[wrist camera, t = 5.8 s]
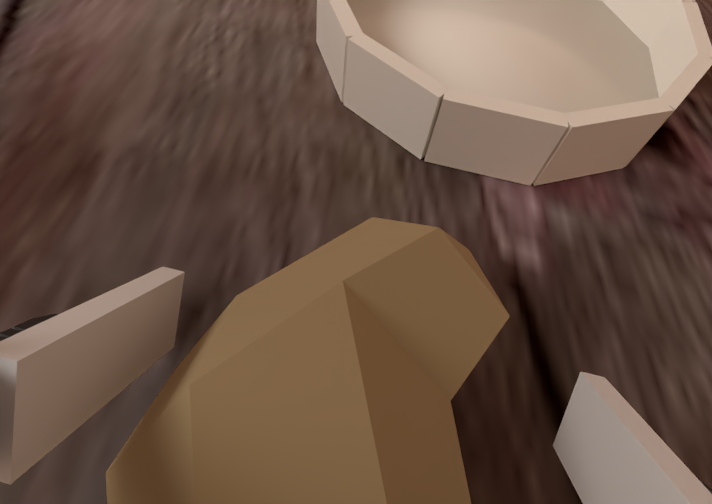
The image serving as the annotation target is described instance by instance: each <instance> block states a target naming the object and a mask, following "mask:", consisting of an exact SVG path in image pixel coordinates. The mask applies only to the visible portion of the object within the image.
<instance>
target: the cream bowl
mask: <svg viewBox="0 0 712 504" xmlns="http://www.w3.org/2000/svg"><path fill="white" fill-rule="evenodd" d="M316 42H317V45H318V47H319V50H320V52H321V54H322V57H323V59H324V62H325V64H326V67H327V69H328V71H329V74H330V76H331V79H332V81H333V83H334V86H335V88H336V91H337V93H338V96H339V98H340V100H341V102H343V105H344V106H346V107H347V108H349V109H350V110H351V111H353V112H354V113H356V114H357V115H358V116H360V117H361V118H363V119H364V120H365V121H367V122H368V123H370V124H371V125H373V126H374V127H375V128H377V129H378V130H380V131H381V132H382V133H384V134H385V135H387V136H388V137H389V138H391V139H392V140H394V141H395V142H396V143H398V144H399V145H401V146H402V147H403V148H405V149H406V150H408V151H409V152H410V153H412V154H413V155H415V156H416V157H417V158H419V159H420V160H421V159H422V158H423V157H424V156H425V159H424V161H425V162H429V163H434V164H438V165H442V166H447V167H451V168H455V169H460V170H464V171H468V172H473V173H477V174H481V175H486V176H490V177H494V178H499V179H503V180H507V181H512V182H516V183H520V184H525V185H529V186H531V184H532V183H533V185H534V186H536V185H542V184H547V183H552V182H557V181H562V180H567V179H572V178H577V177H582V176H587V175H592V174H597V173H602V172H607V171H612V170H617V169H622V168H624V167H626V166H627V165H628V164H629V162H630V161H631V160H632V159H633V158H634V157H635V156H636V154H637V153H638V152H639V151H640V150H641V149H642V148H643V146H644V145H645V144H646V143H647V142H648V141H649V139H650V138H651V137H652V136H653V135H654V134H655V133H656V131H657V130H658V129H659V128H660V127H661V126H662V124H663V123H664V122H665V121H666V120H667V119H668V118H669V116H670V115H671V114H672V113H673V112H674V111H675V110H676V108H677V107H678V106H679V105H680V103H681V102H682V101H683V100H684V99H685V97H686V96H687V95H688V94H689V92H690V91H691V90H692V89H693V88H694V86H695V85H696V84H697V83H698V81H699V80H700V79H701V78H702V77H703V75H704V74H705V73H706V72H707V70H708V69H709V68H710V67H711V66H712V46H711V43H710V40H709V37H708V34H707V31H706V28H705V25H704V22H703V19H702V16H701V13H700V10H699V7H698V4H697V3H696V2H695V0H317V41H316Z"/></svg>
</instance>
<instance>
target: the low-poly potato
mask: <svg viewBox="0 0 712 504" xmlns="http://www.w3.org/2000/svg"><path fill="white" fill-rule="evenodd" d="M509 317H510V316H509V314H508V312H507V311H506V309H505V308H504V306H503V304H502V303H501V301H500V299H499V298H498V296H497V295H496V293H495V291H494V290H493V288H492V286H491V285H490V283H489V281H488V280H487V278H486V277H485V275H484V273H483V272H482V270H481V268H480V267H479V265H478V264H477V262H476V260H475V259H474V257H473V255H472V254H471V252H470V250H468V249H467V248H466V247H464V246H463V245H462V244H460V243H459V242H458V241H456V240H455V239H454V238H452V237H451V236H450V235H448V234H447V233H446V232H444V231H443V230H442V229H440V228H439V227H433V226H427V225H420V224H414V223H408V222H401V221H395V220H389V219H382V218H376V217H372V218H370V219H368V220H366V221H365V222H363V223H361V224H359V225H358V226H356V227H354V228H352V229H351V230H349V231H347V232H346V233H344V234H342V235H340V236H339V237H337V238H335V239H333V240H332V241H330V242H328V243H327V244H325V245H323V246H321V247H320V248H318V249H316V250H314V251H313V252H311V253H309V254H307V255H306V256H304V257H302V258H301V259H299V260H297V261H295V262H294V263H292V264H290V265H288V266H287V267H285V268H283V269H282V270H280V271H278V272H276V273H275V274H273V275H271V276H269V277H268V278H266V279H264V280H263V281H261V282H259V283H257V284H256V285H254V286H252V287H250V288H249V289H247V290H245V291H243V292H242V293H240V294H238V295H237V296H236V297H235V298H234V299H233V300H232V302H231V303H230V304H229V305H228V306H227V308H226V309H225V310H224V311H223V312H222V314H221V315H220V316H219V317H218V318H217V320H216V321H215V322H214V323H213V324H212V326H211V327H210V328H209V329H208V330H207V332H206V333H205V334H204V335H203V336H202V338H201V339H200V340H199V341H198V342H197V344H196V345H195V346H194V347H193V348H192V350H191V351H190V352H189V353H188V354H187V356H186V357H185V358H184V359H183V360H182V362H181V363H180V364H179V365H178V366H177V368H176V369H175V370H174V372H173V373H172V374H171V376H170V377H169V379H168V380H167V382H166V383H165V385H164V386H163V388H162V389H161V391H160V392H159V394H158V395H157V397H156V398H155V400H154V401H153V403H152V404H151V406H150V407H149V409H148V410H147V412H146V413H145V415H144V416H143V418H142V419H141V421H140V422H139V424H138V425H137V427H136V428H135V430H134V431H133V433H132V434H131V436H130V437H129V438H128V440H127V441H126V443H125V444H124V446H123V447H122V449H121V450H120V452H119V453H118V455H117V456H116V458H115V459H114V461H113V462H112V464H111V465H110V467H109V468H108V470H107V471H106V487H107V504H471V499H470V494H469V489H468V484H467V479H466V474H465V470H464V465H463V460H462V455H461V450H460V445H459V440H458V435H457V430H456V425H455V420H454V415H453V410H452V406H451V400H452V398H453V397H454V395H455V394H456V393H457V391H458V390H459V388H460V387H461V385H462V384H463V383H464V381H465V380H466V378H467V377H468V375H469V374H470V373H471V371H472V370H473V368H474V367H475V365H476V364H477V363H478V361H479V360H480V358H481V357H482V355H483V354H484V353H485V351H486V350H487V348H488V347H489V345H490V344H491V343H492V341H493V340H494V338H495V337H496V335H497V334H498V333H499V331H500V330H501V328H502V327H503V325H504V324H505V323H506V321H507V320H508V318H509Z"/></svg>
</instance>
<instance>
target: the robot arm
mask: <svg viewBox="0 0 712 504" xmlns="http://www.w3.org/2000/svg"><path fill="white" fill-rule="evenodd" d="M184 274H185V272H183V271H179V270H175V269H171V268H167V267H161V268H158V269H156V270H154V271H152V272H150V273H148V274H145V275H143V276H141V277H139V278H137V279H135V280H132V281H130V282H128V283H126V284H124V285H122V286H119V287H117V288H115V289H113V290H111V291H108V292H106V293H104V294H102V295H100V296H98V297H95V298H93V299H91V300H89V301H87V302H85V303H82V304H80V305H78V306H76V307H74V308H72V309H69V310H67V311H65V312H63V313H61V314H59V315H58V314H52V315H48V316H43V317H38V318H34V319H31V320H29V321H26V322H24V323H22V324H19V325H17V326H15V327H14V329H11V328H10V329H8V330H6V331H4V332H1V333H0V482H3V483H6V484H12V483H13V482H14V481H15V480H16V479H18V478H19V477H20V476H21V475H22V474H24V473H25V472H26V471H27V470H28V469H30V468H31V467H32V466H33V465H34V464H35V463H37V462H38V461H39V460H40V459H41V458H43V457H44V456H45V455H46V454H47V453H49V452H50V451H51V450H52V449H53V448H55V447H56V446H57V445H58V444H59V443H61V442H62V441H63V440H64V439H65V438H67V437H68V436H69V435H70V434H71V433H72V432H74V431H75V430H76V429H77V428H78V427H80V426H81V425H82V424H83V423H84V422H86V421H87V420H88V419H89V418H90V417H92V416H93V415H94V414H95V413H96V412H98V411H99V410H100V409H101V408H102V407H103V406H105V405H106V404H107V403H108V402H109V401H111V400H112V399H113V398H114V397H115V396H117V395H118V394H119V393H120V392H121V391H123V390H124V389H125V388H126V387H127V386H129V385H130V384H131V383H132V382H133V381H134V380H136V379H137V378H138V377H139V376H140V375H142V374H143V373H144V372H145V371H146V370H148V369H149V368H150V367H151V366H152V365H154V364H155V363H156V362H157V361H158V360H160V359H161V358H162V357H163V356H164V355H165V354H167V353H168V352H169V351H170V350H171V349H173V348H174V344H175V337H176V330H177V323H178V316H179V309H180V302H181V295H182V288H183V281H184ZM553 447H554V449H555V451H556V453H557V455H558V457H559V459H560V461H561V463H562V465H563V467H564V468H565V470H566V472H567V474H568V476H569V478H570V480H571V482H572V484H573V486H574V488H575V490H576V491H577V493H578V495H579V497H580V499H581V501H582V503H583V504H712V489H711V488H709V487H708V486H707V485H705V484H704V483H703V482H701V481H700V480H699V479H698V478H697V477H696V476H695V475H694V474H693V473H692V472H691V471H690V470H689V469H688V468H687V466H686V465H685V464H684V463H683V462H682V461H681V460H680V459H679V458H678V457H677V456H676V455H675V453H674V452H673V451H672V450H671V449H670V448H669V447H668V446H667V445H666V444H665V443H664V441H663V440H662V439H661V438H660V437H659V436H658V435H657V434H656V433H655V432H654V431H653V429H652V428H651V427H650V426H649V425H648V424H647V423H646V422H645V421H644V420H643V419H642V417H641V416H640V415H639V414H638V413H637V412H636V411H635V410H634V409H633V408H632V407H631V406H630V404H629V403H628V402H627V401H626V400H625V399H624V398H623V397H622V396H621V395H620V394H619V392H618V391H617V390H616V389H615V388H614V387H613V386H612V385H611V384H610V383H609V382H608V380H607V379H606V378H605V377H601V376H597V375H593V374H589V373H585V372H581V371H580V374H579V377H578V379H577V382H576V385H575V387H574V390H573V393H572V395H571V398H570V401H569V403H568V406H567V409H566V411H565V414H564V417H563V419H562V422H561V425H560V427H559V430H558V433H557V435H556V438H555V441H554V443H553Z"/></svg>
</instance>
